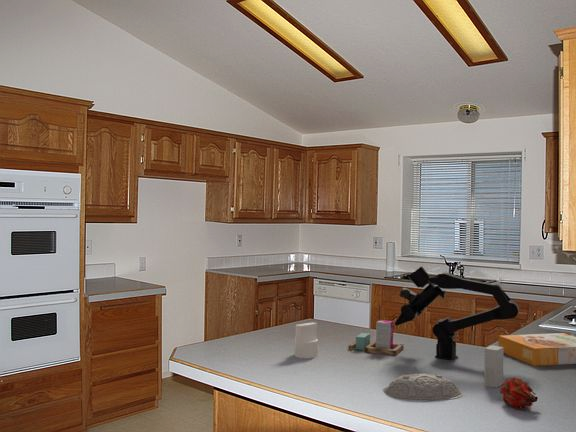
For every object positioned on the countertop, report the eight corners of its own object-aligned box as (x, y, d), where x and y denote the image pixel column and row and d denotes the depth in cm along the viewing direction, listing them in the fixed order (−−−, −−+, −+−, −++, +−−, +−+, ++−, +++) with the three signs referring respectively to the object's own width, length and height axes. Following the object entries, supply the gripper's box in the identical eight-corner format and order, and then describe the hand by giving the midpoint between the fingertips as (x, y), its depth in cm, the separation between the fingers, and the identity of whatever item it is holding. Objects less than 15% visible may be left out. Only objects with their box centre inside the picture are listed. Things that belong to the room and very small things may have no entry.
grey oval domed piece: (376, 384, 178) (377, 363, 177) (452, 387, 179) (454, 367, 179) (387, 405, 162) (389, 383, 162) (471, 409, 164) (473, 387, 163)
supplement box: (389, 352, 220) (390, 323, 220) (375, 350, 223) (375, 321, 223) (393, 349, 226) (393, 320, 226) (379, 347, 228) (379, 319, 228)
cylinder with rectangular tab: (305, 359, 208) (305, 327, 208) (289, 354, 215) (290, 323, 215) (322, 355, 214) (323, 324, 214) (307, 351, 221) (307, 321, 221)
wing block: (361, 344, 232) (362, 332, 232) (369, 345, 231) (370, 333, 231) (355, 348, 225) (355, 336, 225) (364, 349, 224) (364, 337, 224)
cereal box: (498, 335, 225) (563, 333, 232) (498, 351, 225) (563, 348, 232) (534, 348, 203) (605, 345, 210) (534, 365, 203) (604, 362, 210)
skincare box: (490, 381, 183) (490, 344, 183) (503, 384, 180) (504, 346, 180) (483, 385, 178) (484, 348, 178) (497, 388, 176) (497, 350, 176)
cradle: (403, 348, 227) (403, 344, 227) (395, 355, 216) (395, 350, 216) (358, 343, 236) (358, 339, 236) (348, 349, 224) (348, 345, 224)
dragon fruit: (506, 403, 166) (531, 424, 154) (487, 389, 164) (510, 408, 152) (524, 381, 166) (550, 400, 154) (504, 366, 164) (529, 384, 152)
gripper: (417, 279, 228) (390, 304, 233) (406, 283, 211) (377, 310, 216) (436, 299, 225) (409, 324, 230) (427, 306, 208) (397, 333, 213)
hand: (398, 322), depth 222 cm, fingers open, 9 cm apart
